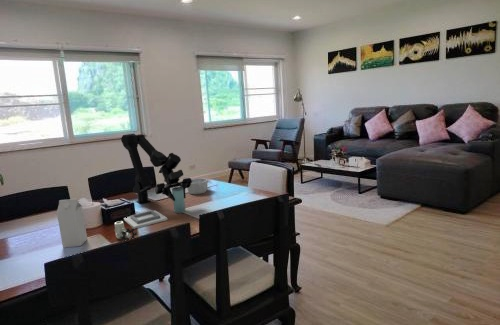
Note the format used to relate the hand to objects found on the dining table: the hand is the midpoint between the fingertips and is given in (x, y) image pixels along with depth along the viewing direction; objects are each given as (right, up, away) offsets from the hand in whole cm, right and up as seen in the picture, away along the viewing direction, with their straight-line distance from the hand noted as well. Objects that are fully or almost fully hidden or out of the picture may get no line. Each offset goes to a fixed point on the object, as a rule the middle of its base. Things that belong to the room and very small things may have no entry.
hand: (179, 199), depth 176 cm
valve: (-17, -14, -30) cm, 37 cm away
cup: (0, -6, +2) cm, 7 cm away
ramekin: (+3, 0, +38) cm, 38 cm away
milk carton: (-37, -15, -31) cm, 51 cm away
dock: (-15, -9, -8) cm, 19 cm away
